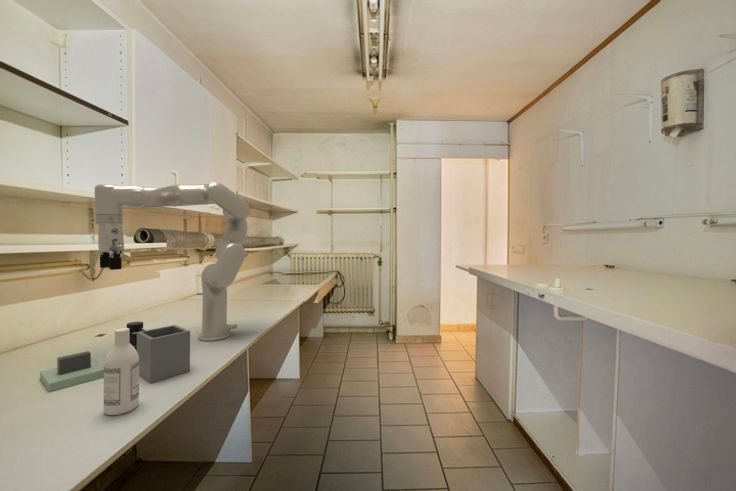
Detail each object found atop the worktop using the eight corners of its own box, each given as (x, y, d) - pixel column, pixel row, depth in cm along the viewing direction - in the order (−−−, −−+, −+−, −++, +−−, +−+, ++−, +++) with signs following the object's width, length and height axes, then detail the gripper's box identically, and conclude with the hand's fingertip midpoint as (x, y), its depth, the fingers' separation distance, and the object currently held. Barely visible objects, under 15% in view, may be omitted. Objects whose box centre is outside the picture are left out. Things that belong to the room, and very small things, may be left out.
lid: (95, 365, 102) (95, 345, 102) (107, 376, 95) (107, 354, 95) (40, 379, 92) (40, 356, 92) (49, 392, 85) (49, 367, 85)
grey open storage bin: (174, 362, 106) (175, 324, 106) (189, 371, 100) (190, 331, 100) (136, 373, 98) (136, 332, 97) (150, 383, 91) (150, 339, 91)
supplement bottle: (133, 361, 107) (133, 326, 107) (117, 359, 108) (117, 324, 108) (150, 353, 114) (151, 321, 113) (135, 352, 115) (135, 319, 115)
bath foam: (134, 398, 83) (135, 323, 82) (142, 408, 78) (143, 329, 78) (100, 408, 77) (101, 329, 77) (106, 419, 73) (107, 335, 73)
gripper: (131, 220, 108) (132, 269, 109) (113, 221, 118) (114, 266, 118) (104, 219, 102) (105, 271, 102) (87, 220, 111) (89, 267, 112)
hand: (110, 268), depth 110 cm, fingers open, 9 cm apart
